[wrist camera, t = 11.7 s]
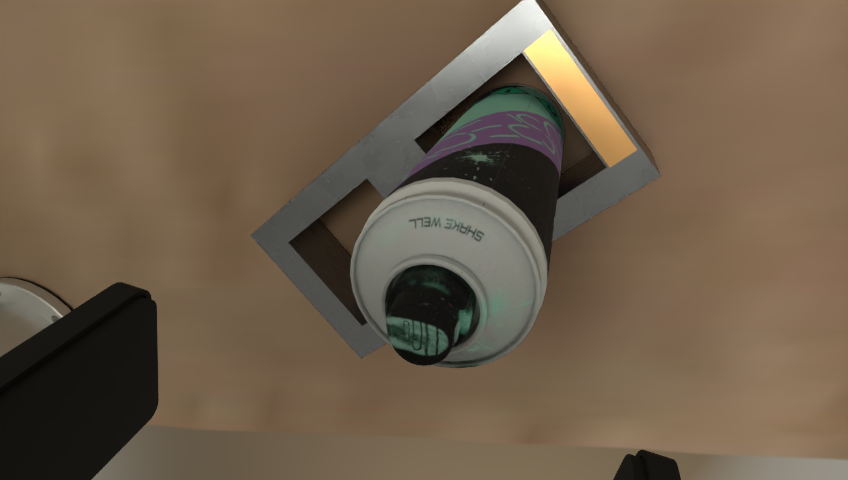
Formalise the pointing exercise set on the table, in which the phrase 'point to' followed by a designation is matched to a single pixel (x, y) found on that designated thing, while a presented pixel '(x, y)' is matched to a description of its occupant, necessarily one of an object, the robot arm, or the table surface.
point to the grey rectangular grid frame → (417, 134)
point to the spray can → (466, 235)
